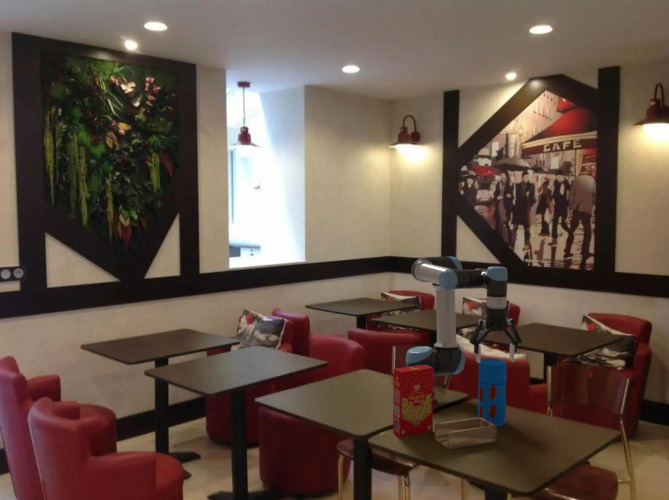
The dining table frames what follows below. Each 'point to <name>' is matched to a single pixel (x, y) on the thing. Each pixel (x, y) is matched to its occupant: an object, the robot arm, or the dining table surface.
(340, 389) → the dining table surface
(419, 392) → the food packaging
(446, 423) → the u rest
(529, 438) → the dining table surface
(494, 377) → the thermos
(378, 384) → the dining table surface
